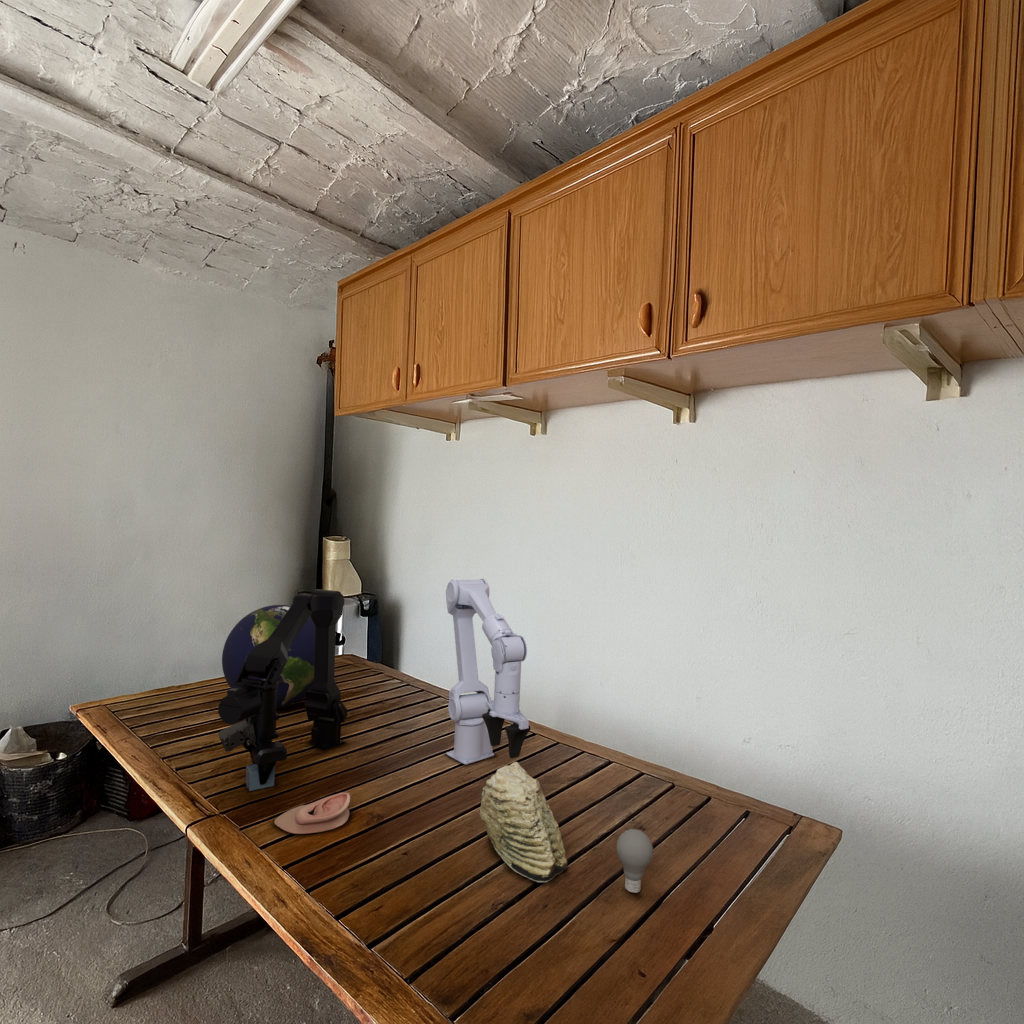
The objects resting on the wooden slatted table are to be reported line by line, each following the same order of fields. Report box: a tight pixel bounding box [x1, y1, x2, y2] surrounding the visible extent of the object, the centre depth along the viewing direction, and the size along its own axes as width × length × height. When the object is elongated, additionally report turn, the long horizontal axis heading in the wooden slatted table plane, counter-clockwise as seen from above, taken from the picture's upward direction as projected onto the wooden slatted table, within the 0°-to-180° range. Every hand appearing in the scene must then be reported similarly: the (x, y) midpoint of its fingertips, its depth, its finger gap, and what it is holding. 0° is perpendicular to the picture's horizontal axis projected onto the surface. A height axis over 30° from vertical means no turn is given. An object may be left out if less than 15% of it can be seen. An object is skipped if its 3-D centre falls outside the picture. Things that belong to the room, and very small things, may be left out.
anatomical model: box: [274, 791, 351, 835], centre depth 124 cm, size 13×4×12 cm
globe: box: [221, 604, 315, 709], centre depth 188 cm, size 30×30×30 cm
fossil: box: [479, 761, 569, 883], centre depth 114 cm, size 9×18×15 cm, turn 46°
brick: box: [245, 764, 276, 792], centre depth 138 cm, size 4×5×4 cm
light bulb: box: [615, 828, 654, 894], centre depth 106 cm, size 6×6×10 cm
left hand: (260, 780), depth 138 cm, fingers closed on brick, 4 cm apart
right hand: (504, 751), depth 141 cm, fingers open, 7 cm apart
